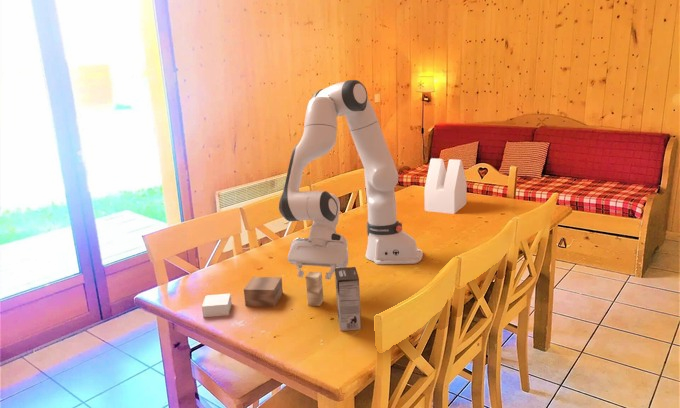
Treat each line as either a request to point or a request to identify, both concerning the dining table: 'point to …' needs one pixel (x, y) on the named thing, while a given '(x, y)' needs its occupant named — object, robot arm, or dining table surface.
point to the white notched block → (445, 186)
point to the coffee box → (348, 298)
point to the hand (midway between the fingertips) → (313, 277)
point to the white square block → (216, 305)
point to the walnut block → (263, 291)
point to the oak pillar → (314, 288)
